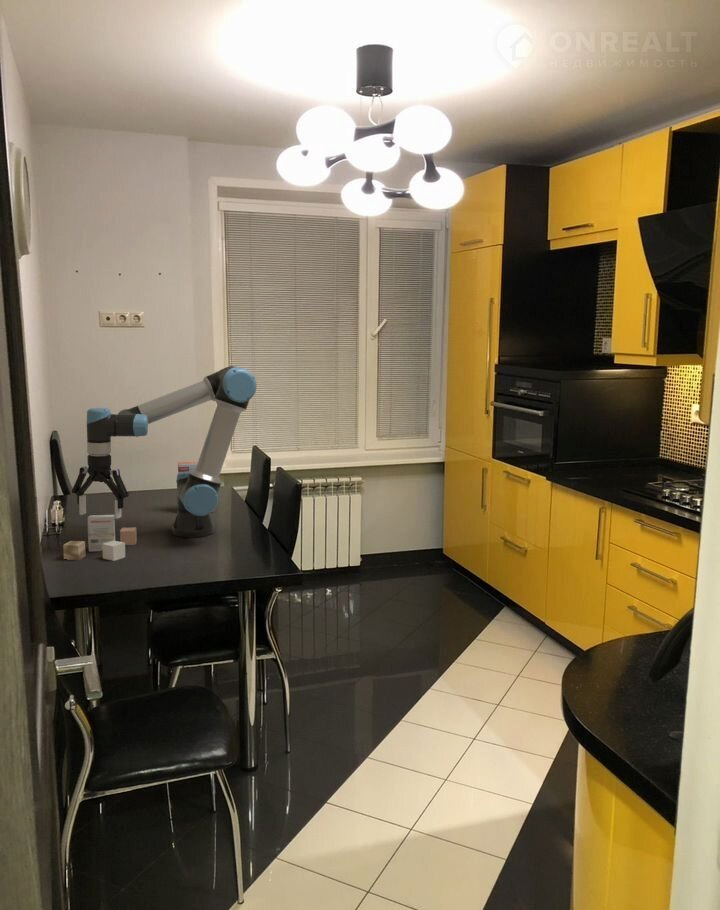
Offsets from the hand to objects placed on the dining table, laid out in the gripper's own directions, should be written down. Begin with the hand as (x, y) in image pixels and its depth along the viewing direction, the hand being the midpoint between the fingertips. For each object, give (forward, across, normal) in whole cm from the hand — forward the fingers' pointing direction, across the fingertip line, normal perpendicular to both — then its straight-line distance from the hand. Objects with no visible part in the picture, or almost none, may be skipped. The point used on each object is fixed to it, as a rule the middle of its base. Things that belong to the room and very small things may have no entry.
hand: (100, 516), depth 250 cm
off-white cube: (+12, -9, +7) cm, 16 cm away
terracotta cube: (+12, -4, -10) cm, 16 cm away
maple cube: (+12, +3, +11) cm, 16 cm away
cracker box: (+12, -5, -60) cm, 62 cm away
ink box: (+12, 0, 0) cm, 12 cm away
